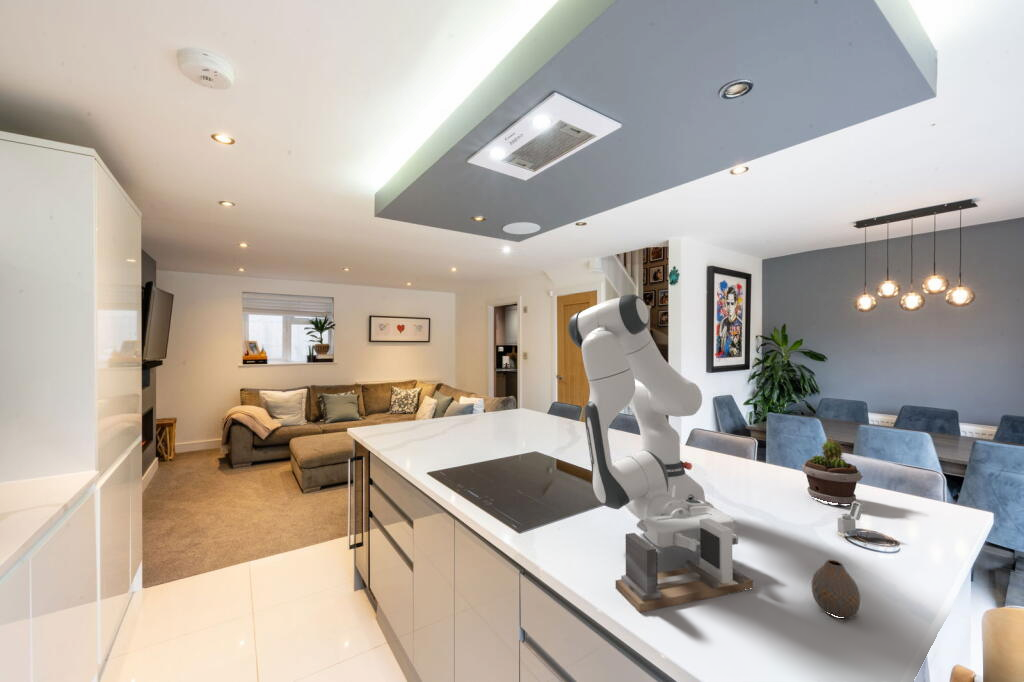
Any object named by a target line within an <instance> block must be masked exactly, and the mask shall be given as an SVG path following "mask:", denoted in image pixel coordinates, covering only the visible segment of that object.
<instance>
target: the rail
mask: <svg viewBox="0 0 1024 682" xmlns="http://www.w3.org/2000/svg"><path fill="white" fill-rule="evenodd" d="M683 566H684V568H677V569H671V570H666V571H665V570H664V571H660V572H658V552H657V548H656V547H655V546H654V545H652V544H650V543H649V542H647V540H645V539H644V538H643V537H641V536H640V535H638V534H637V533H635V532H631V533H625V574H623V575H621V577H620V579H615V589H616V590H617V591H618V592H619V593H620V594H621V595H622V596H623V598H625V599H626V601H628V602H629V604H630V605H631V606H633V608H634V607H635V608H636V609H637V610H636V611H637V612H638V613H644V612H648V611H653V610H657V609H663V608H666V607H667V608H668V607H672V606H677V605H682V604H687V603H692V602H697V601H701V600H706V599H710V598H715V596H716V597H720V595H721V596H725V595H724V594H726V595H729V594H728V593H730V594H734V593H733V592H735V593H739V592H738V591H740V592H743V591H742V590H745V589H750V588H753V589H754V580H753V579H751V578H749V577H747V576H746V575H745V574H744V573H741V572H739V571H738V570H737V569H735V568H733V581H731V582H726V583H721V582H720V581H718V580H717V579H716V578H715V577H713V576H712V575H710V574H709V573H707V572H706V571H704V570H703V569H701V568H700V564H698V565H697V564H696V563H694V562H693V561H691V560H690V559H687V560H683ZM750 590H751V589H750ZM745 591H746V590H745Z"/></svg>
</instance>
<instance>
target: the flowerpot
mask: <svg viewBox="0 0 1024 682" xmlns="http://www.w3.org/2000/svg"><path fill="white" fill-rule="evenodd" d="M834 439H835V437H834V438H832V437H830V438H828V437H826V438H825V440H824V442H823V443H821V452H820V454H822V455H818V454H817V455H816V454H815V455H814V454H812V458H810V459H807V460H806V461H805V462H804V463H803V464H802V465H801V469H802V472H803V473H804V474H805V475H806V480H807V483H808V486H807V491H808V494H809V495H810V497H811V498H812V497H814V498H817V499H820V500H823V501H827V502H832V503H838V504H839V505H840V504H851V503H853V501H854V502H856V501H857V496H856V494H855V490H856V488H857V482H860V481H862V478H863V475H862V474H861V472H860V471H859V470H858V467H857V466H856V465H853V464H851V463H848V462H846V459H844V458H843V456H844V454H845V453H844V451H843V450H844V448H843V446H842V445H841V444H840V442H838V441H836V440H837V439H835V440H834ZM851 505H852V504H851Z"/></svg>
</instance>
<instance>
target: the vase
mask: <svg viewBox="0 0 1024 682" xmlns="http://www.w3.org/2000/svg"><path fill="white" fill-rule="evenodd" d="M811 593H812V595H813V600H814V601H815V603H816V604H817V606H818V607H819V608H820V609H821V610H822V609H823V610H824V611H826V612H828V613H830V614H833V615H835V616H838V617H844V618H849V619H851V618H853V617H854V616H855V615H857V613H858V612H859V611H860V607H861V594H860V590H859V587H858V585H857V582H855V580H854V578H853V577H852V576H851V575H850V574H849V572H848V571H847V570H846V567H845V566H844V564H843V563H842V562H840V561H837V560H835V559H827V560H826V561H825V562H824V564H823V565H822V566H820V567H819V568H818V569H817V570H816V571H815V572H814V573H813V577H812V579H811ZM823 610H822V611H823ZM824 611H823V612H824ZM850 617H851V618H850Z"/></svg>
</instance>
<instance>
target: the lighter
mask: <svg viewBox="0 0 1024 682" xmlns="http://www.w3.org/2000/svg"><path fill="white" fill-rule="evenodd" d="M863 510H864V504H862V503H860V502H857V501H853V503H852V504H851V507H850V509H849V513H842V514H841V517H837V533H838V532H840V533H843V534H845V533H846V532H847V531H851V530H856V529H857V528H856V527H857V526H856V521H860V519H861V515H862V512H863Z"/></svg>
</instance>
